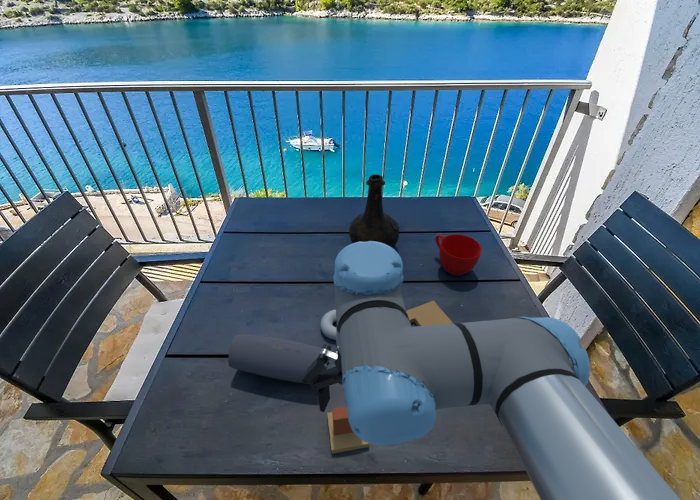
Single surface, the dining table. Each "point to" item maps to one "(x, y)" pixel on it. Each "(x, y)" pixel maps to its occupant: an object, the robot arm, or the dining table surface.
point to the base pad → (428, 315)
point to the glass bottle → (374, 218)
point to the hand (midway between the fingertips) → (361, 418)
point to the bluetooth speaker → (272, 357)
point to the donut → (329, 324)
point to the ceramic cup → (458, 253)
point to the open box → (342, 432)
